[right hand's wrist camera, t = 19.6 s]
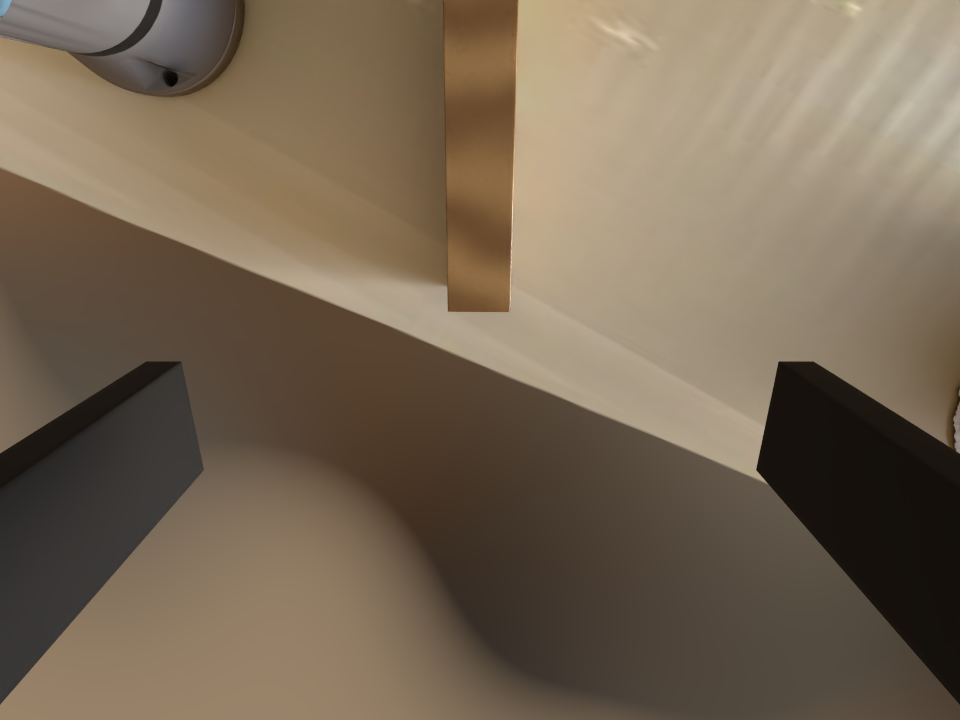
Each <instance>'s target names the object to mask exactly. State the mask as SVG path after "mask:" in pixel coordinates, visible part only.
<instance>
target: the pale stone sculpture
mask: <svg viewBox="0 0 960 720" xmlns="http://www.w3.org/2000/svg"><path fill="white" fill-rule="evenodd" d="M959 396H960V390H959ZM955 413H956V414H957V415H955V416H954V418H953V421H954V422H955V423H954V427H955V430H956V432H955V434H954V438H955V440H956V443H954V445H955V448H956V451H957V452H958V453H960V403H959V405H958V408H957V411H956V412H955Z"/></svg>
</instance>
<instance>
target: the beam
mask: <svg viewBox="0 0 960 720" xmlns="http://www.w3.org/2000/svg"><path fill="white" fill-rule="evenodd" d="M443 19H444V85H445V151H446V217H447V282H448V311H449V312H510V293H511V256H512V218H513V181H514V143H515V106H516V69H517V31H518V0H443Z"/></svg>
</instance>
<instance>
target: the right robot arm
mask: <svg viewBox="0 0 960 720" xmlns="http://www.w3.org/2000/svg"><path fill="white" fill-rule="evenodd" d="M243 22H244V0H0V37H3V38H7V39H12V40H17V41H21V42H26V43H30V44H35V45H40V46H44V47H49V48H54V49H58V50H63V51H67V52H68V53H70V54H71V55H72V56H73V57H75V58H76V59H77V60H79V61H80V62H81V63H82V64H84V65H85V66H86V67H87V68H89V69H90V70H91V71H93V72H94V73H96V74H97V75H99V76H100V77H102V78H103V79H105V80H107V81H108V82H110V83H112V84H114V85H116V86H118V87H121V88H123V89H126V90H129V91H132V92H136V93H141V94H146V95H152V96H160V97H175V96H182V95H186V94H190V93H193V92H196V91H198V90H200V89H202V88H204V87H206V86H207V85H209V84H210V83H212V82H213V81H214V80H215V79H216V78H217V77H219V76H220V74H221V73H222V72H223V71H224V70H225V69H226V67H227V66H228V65H229V63H230V61H231V60H232V58H233V56H234V54H235V52H236V50H237V47H238V45H239V41H240V38H241V34H242V29H243ZM203 470H204V469H203V464H202V459H201V454H200V449H199V445H198V440H197V435H196V430H195V425H194V421H193V416H192V411H191V406H190V402H189V397H188V392H187V387H186V382H185V377H184V373H183V368H182V363H181V362H145V363H143V364H142V365H140V366H139V367H137V368H135V369H134V370H132V371H131V372H129V373H127V374H126V375H124V376H123V377H121V378H120V379H118V380H116V381H115V382H113V383H112V384H110V385H108V386H107V387H105V388H104V389H102V390H100V391H99V392H97V393H96V394H94V395H92V396H91V397H89V398H88V399H86V400H85V401H83V402H81V403H80V404H78V405H77V406H75V407H73V408H72V409H70V410H69V411H67V412H65V413H64V414H62V415H61V416H59V417H58V418H56V419H54V420H53V421H51V422H50V423H48V424H46V425H45V426H43V427H42V428H40V429H39V430H37V431H35V432H34V433H32V434H31V435H29V436H27V437H26V438H24V439H23V440H21V441H19V442H18V443H16V444H15V445H13V446H11V447H10V448H8V449H7V450H5V451H3V452H2V453H0V704H1V703H2V702H3V701H4V700H5V698H6V697H7V696H8V695H9V694H10V692H11V691H12V690H13V689H14V688H15V687H16V686H17V685H18V683H19V682H20V681H21V680H22V679H23V678H24V676H25V675H26V674H27V673H28V672H29V671H30V670H31V668H32V667H33V666H34V665H35V664H36V663H37V662H38V660H39V659H40V658H41V657H42V656H43V655H44V653H45V652H46V651H47V650H48V649H49V648H50V647H51V645H52V644H53V643H54V642H55V641H56V640H57V638H58V637H59V636H60V635H61V634H62V633H63V631H64V630H65V629H66V628H67V627H68V626H69V625H70V623H71V622H72V621H73V620H74V619H75V618H76V617H77V615H78V614H79V613H80V612H81V611H82V610H83V609H84V607H85V606H86V605H87V604H88V603H89V602H90V600H91V599H92V598H93V597H94V596H95V595H96V593H97V592H98V591H99V590H100V589H101V588H102V587H103V585H104V584H105V583H106V582H107V581H108V580H109V579H110V577H111V576H112V575H113V574H114V573H115V572H116V570H117V569H118V568H119V567H120V566H121V565H122V564H123V562H124V561H125V560H126V559H127V558H128V557H129V555H130V554H131V553H132V552H133V551H134V550H135V549H136V547H137V546H138V545H139V544H140V543H141V542H142V540H143V539H144V538H145V537H146V536H147V535H148V534H149V532H150V531H151V530H152V529H153V528H154V527H155V526H156V524H157V523H158V522H159V521H160V520H161V519H162V517H163V516H164V515H165V514H166V513H167V512H168V511H169V509H170V508H171V507H172V506H173V505H174V504H175V503H176V501H177V500H178V499H179V498H180V497H181V496H182V494H183V493H184V492H185V491H186V490H187V489H188V488H189V486H190V485H191V484H192V483H193V482H194V481H195V479H196V478H197V477H198V476H199V475H200V474H201V472H202V471H203ZM756 470H757V471H758V473H759V474H760V475H761V476H762V477H763V478H764V479H765V481H766V482H767V483H768V484H769V485H770V486H771V487H772V489H773V490H774V491H775V492H776V493H777V494H778V496H779V497H780V498H781V499H782V500H783V501H784V502H785V504H786V505H787V506H788V507H789V508H790V509H791V511H792V512H793V513H794V514H795V515H796V516H797V517H798V519H799V520H800V521H801V522H802V523H803V524H804V526H805V527H806V528H807V529H808V530H809V531H810V532H811V534H812V535H813V536H814V537H815V538H816V539H817V540H818V542H819V543H820V544H821V545H822V546H823V547H824V549H825V550H826V551H827V552H828V553H829V554H830V556H831V557H832V558H833V559H834V560H835V561H836V562H837V564H838V565H839V566H840V567H841V568H842V569H843V570H844V572H845V573H846V574H847V575H848V576H849V577H850V579H851V580H852V581H853V582H854V583H855V584H856V585H857V587H858V588H859V589H860V590H861V591H862V592H863V593H864V595H865V596H866V597H867V598H868V599H869V600H870V602H871V603H872V604H873V605H874V606H875V607H876V608H877V610H878V611H879V612H880V613H881V614H882V615H883V617H884V618H885V619H886V620H887V621H888V622H889V623H890V625H891V626H892V627H893V628H894V629H895V630H896V632H897V633H898V634H899V635H900V636H901V637H902V638H903V640H904V641H905V642H906V643H907V644H908V645H909V647H910V648H911V649H912V650H913V651H914V652H915V653H916V655H917V656H918V657H919V658H920V659H921V660H922V662H923V663H924V664H925V665H926V666H927V667H928V668H929V670H930V671H931V672H932V673H933V674H934V675H935V676H936V678H937V679H938V680H939V681H940V682H941V683H942V685H943V686H944V687H945V688H946V689H947V690H948V691H949V693H950V694H951V695H952V696H953V697H954V698H955V700H956V701H957V702H958V703H959V704H960V453H958V452H957V451H955V450H953V449H952V448H950V447H949V446H947V445H945V444H944V443H942V442H941V441H939V440H937V439H936V438H934V437H933V436H931V435H929V434H928V433H926V432H925V431H923V430H922V429H920V428H918V427H917V426H915V425H914V424H912V423H910V422H909V421H907V420H906V419H904V418H902V417H901V416H899V415H898V414H896V413H895V412H893V411H891V410H890V409H888V408H887V407H885V406H883V405H882V404H880V403H879V402H877V401H875V400H874V399H872V398H871V397H869V396H867V395H866V394H864V393H863V392H861V391H860V390H858V389H856V388H855V387H853V386H852V385H850V384H848V383H847V382H845V381H844V380H842V379H840V378H839V377H837V376H836V375H834V374H833V373H831V372H829V371H828V370H826V369H825V368H823V367H821V366H820V365H818V364H817V363H815V362H779V363H778V368H777V373H776V377H775V382H774V387H773V392H772V397H771V401H770V406H769V411H768V416H767V421H766V425H765V430H764V435H763V440H762V445H761V449H760V454H759V459H758V464H757V469H756Z"/></svg>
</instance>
